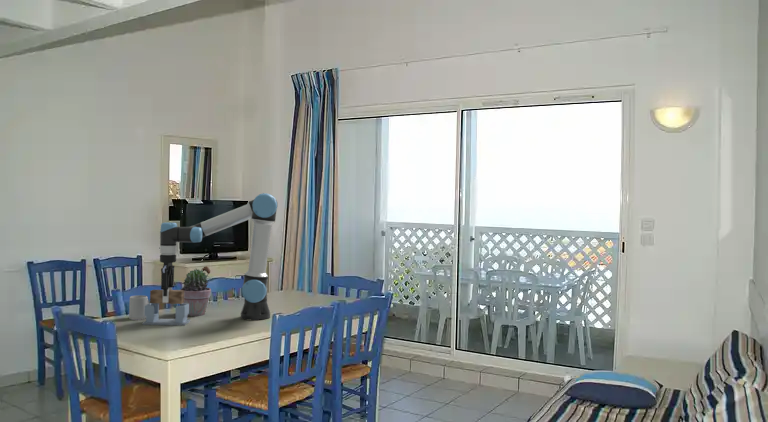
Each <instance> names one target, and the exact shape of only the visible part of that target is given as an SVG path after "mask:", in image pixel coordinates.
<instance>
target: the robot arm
mask: <svg viewBox="0 0 768 422" xmlns="http://www.w3.org/2000/svg"><path fill="white" fill-rule="evenodd" d="M277 210H278V201H277V199H276V197H275V196H274V195H272V194H271V193H264V192H262V193H260V194H258V195H256V196H255V197H254V199H252V200H250V201H248V202H247V204H244V205H241V206H240V207H237V208H234V209H231V210H229V211H227V212H223V213H221V214H219V215H217V216H214V217H211V218H209V219H207V220H205V221H204V220H203V221H201V222H199V223H196V224H194V225H191V226H178V224H177V223H176V222H167V221H166V222H162V223H161V224H160V232H159V234H160V235H159V236H160V237H159V239H160V241H159V244H160V246H159V251H160V252H159V253H160V255H159V262H160V263H163V264H162V265H163V266H162V268H161V269H160V271H161V273H160V274H161V279H160V280H161V281H160V282H161V283H160V290H163V303H169V290H173V288H175V286H174V285H175V282H174V281H175V280H174V279H175V265H173V263H177V255H176V254H177V243H194V244H195V243H201V242H202V241H203V238H205V237H207V236H210V235H213V234H214V233H218V232H220V231H223V230H225V229H228V228H230V227H232V226H236V225H239V224H241V223H244V222H246V221H248V220H252V221H253V229H252V238H251V244H250V245H251V246H250V254H249V263H248V268H247V269H248V270H247V271H246V272H244V276H243V284H242V288H241V295H242V296H243V299H244V301H243V306H242V309H241V312H240V319H242V320H247V319H251V321H259V319H262V320H268V319H270V318H271V312H270V307H269V304H268V281H269V275H268V273H267V264H268V256H269V250H270V249H269V248H270V242H271V233H272V231H271V230H272V225H273V224H274V223H275V222H276V216H277ZM267 318H268V319H267Z"/></svg>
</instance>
